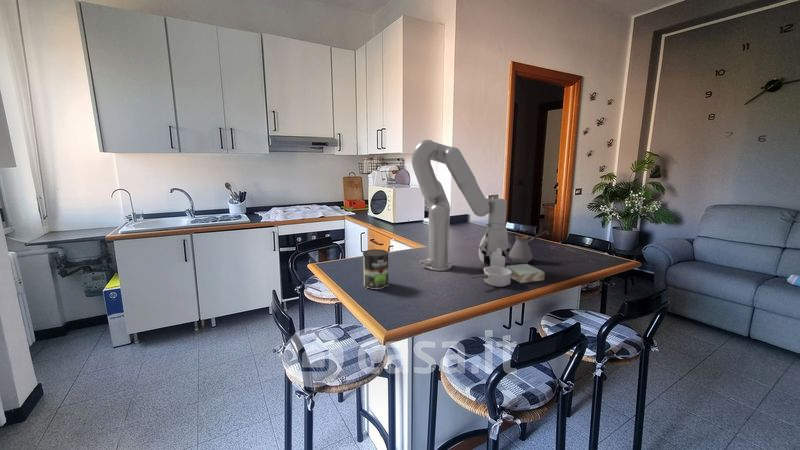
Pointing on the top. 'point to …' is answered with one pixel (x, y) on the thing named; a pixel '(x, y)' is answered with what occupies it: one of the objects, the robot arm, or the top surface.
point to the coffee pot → (522, 249)
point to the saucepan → (496, 276)
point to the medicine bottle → (496, 259)
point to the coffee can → (375, 268)
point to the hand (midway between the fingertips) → (494, 262)
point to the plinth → (525, 273)
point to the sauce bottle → (483, 248)
